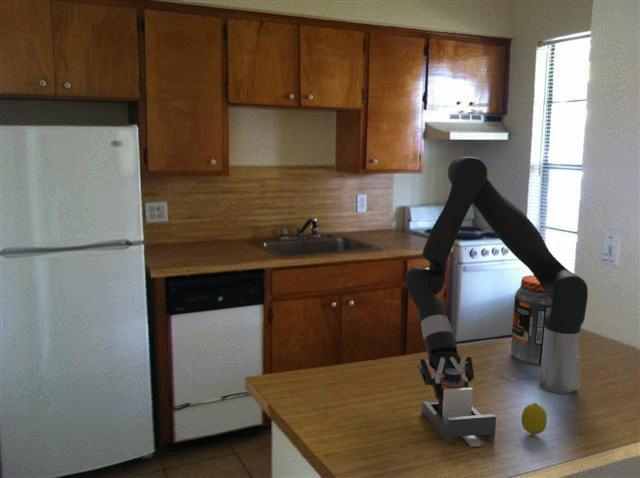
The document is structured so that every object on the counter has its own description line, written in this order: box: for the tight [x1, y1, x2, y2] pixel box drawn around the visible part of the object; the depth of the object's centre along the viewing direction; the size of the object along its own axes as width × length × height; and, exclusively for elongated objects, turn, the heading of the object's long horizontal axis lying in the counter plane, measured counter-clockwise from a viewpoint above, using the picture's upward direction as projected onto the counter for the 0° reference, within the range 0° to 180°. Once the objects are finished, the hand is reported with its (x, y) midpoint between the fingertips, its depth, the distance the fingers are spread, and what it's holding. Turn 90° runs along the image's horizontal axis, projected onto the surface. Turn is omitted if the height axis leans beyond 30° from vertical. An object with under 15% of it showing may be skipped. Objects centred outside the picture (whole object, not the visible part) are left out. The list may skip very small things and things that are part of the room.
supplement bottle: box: [437, 368, 465, 417], centre depth 142 cm, size 6×6×11 cm
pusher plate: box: [441, 387, 482, 448], centre depth 134 cm, size 7×11×9 cm, turn 11°
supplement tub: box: [510, 274, 552, 366], centre depth 184 cm, size 16×16×26 cm
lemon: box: [521, 402, 548, 437], centre depth 135 cm, size 6×6×8 cm
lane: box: [421, 400, 497, 446], centre depth 139 cm, size 11×16×6 cm
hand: (454, 399), depth 140 cm, fingers closed on supplement bottle, 6 cm apart
